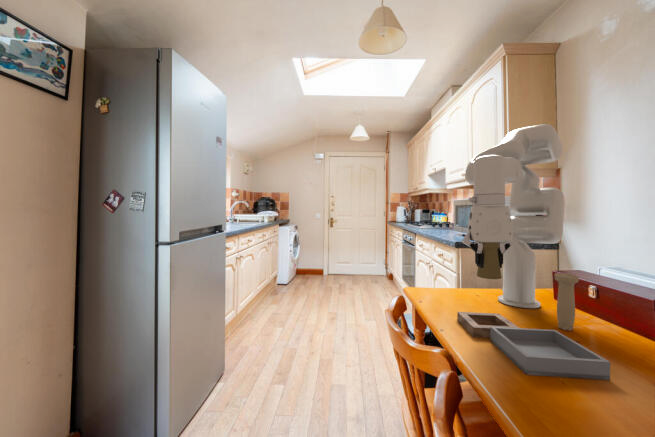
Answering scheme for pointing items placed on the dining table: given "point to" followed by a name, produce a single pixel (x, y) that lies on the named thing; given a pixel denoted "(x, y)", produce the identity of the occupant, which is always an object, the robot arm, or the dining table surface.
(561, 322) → the handle
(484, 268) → the cork
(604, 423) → the dining table surface
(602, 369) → the tray
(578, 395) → the dining table surface
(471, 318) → the socket block
